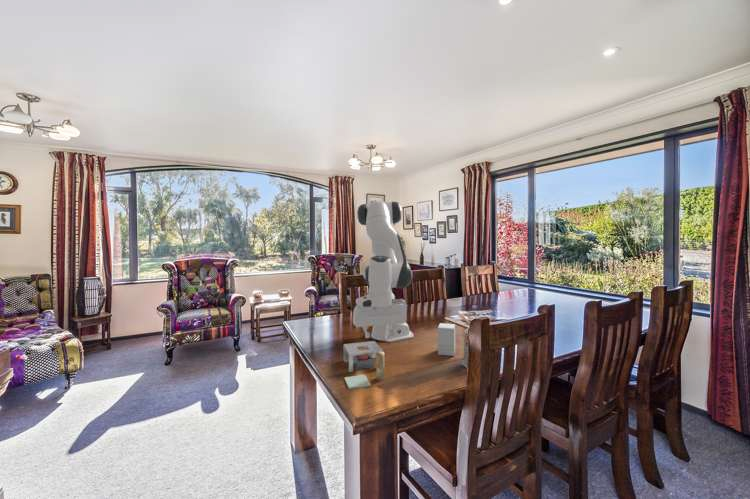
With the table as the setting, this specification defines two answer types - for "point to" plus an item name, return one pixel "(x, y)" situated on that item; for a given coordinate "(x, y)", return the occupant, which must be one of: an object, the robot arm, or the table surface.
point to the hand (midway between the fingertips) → (379, 336)
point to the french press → (466, 346)
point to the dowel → (380, 366)
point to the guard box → (354, 352)
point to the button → (363, 356)
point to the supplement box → (446, 339)
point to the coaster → (357, 381)
